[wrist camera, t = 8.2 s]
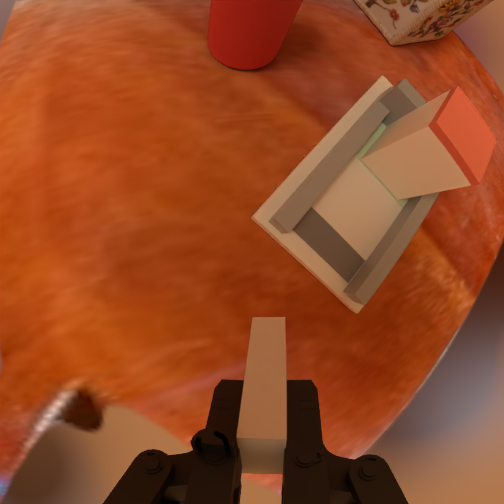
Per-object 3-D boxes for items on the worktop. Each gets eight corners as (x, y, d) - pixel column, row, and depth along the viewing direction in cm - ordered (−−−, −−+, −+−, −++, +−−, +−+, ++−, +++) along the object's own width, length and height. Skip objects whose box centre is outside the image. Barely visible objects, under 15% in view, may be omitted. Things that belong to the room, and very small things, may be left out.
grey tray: (351, 311, 26) (390, 327, 20) (250, 217, 24) (267, 209, 18) (448, 162, 28) (487, 151, 22) (376, 80, 26) (409, 52, 20)
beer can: (278, 28, 24) (317, -56, 12) (274, 78, 24) (321, -10, 12) (212, 19, 23) (225, -73, 11) (201, 68, 23) (209, -30, 11)
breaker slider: (397, 200, 25) (479, 183, 15) (360, 158, 24) (436, 122, 14) (421, 164, 25) (496, 140, 16) (387, 125, 24) (457, 85, 15)
